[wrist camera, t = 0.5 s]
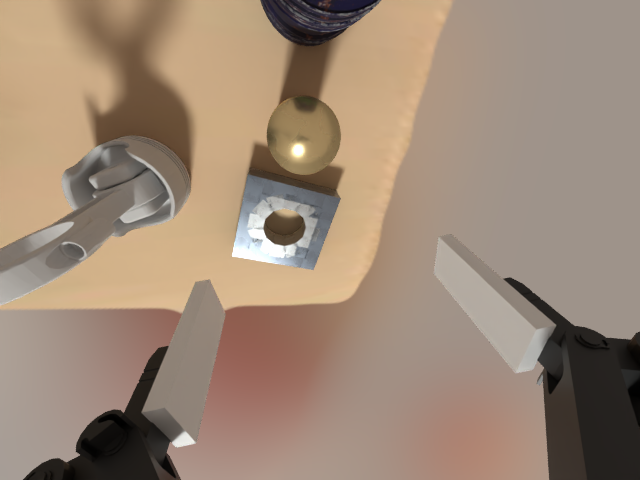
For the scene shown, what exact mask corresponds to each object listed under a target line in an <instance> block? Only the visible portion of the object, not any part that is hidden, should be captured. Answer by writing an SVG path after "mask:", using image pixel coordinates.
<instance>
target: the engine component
mask: <svg viewBox="0 0 640 480" xmlns="http://www.w3.org/2000/svg"><path fill="white" fill-rule="evenodd" d="M62 188H63V192H64V195H65V197H66V199H67V201H68V203H69V204H70V206H71V207H72V209H73V210H74V211H73V212H71V213H70V214H68V215H67V216H65V217H63V218H62V219H60V220H58V221H57V222H55V223H53V224H52V225H50V226H48V227H45V228H43V229H41V230H38V231H36V232H34V233H32V234H30V235H27V236H25V237H23V238H21V239H19V240H17V241H15V242H12V243H11V244H9V245H7V246H5V247H3V248H1V249H0V305H3V304H6V303H9V302H11V301H13V300H16V299H18V298H21V297H23V296H25V295H27V294H29V293H31V292H33V291H35V290H37V289H39V288H41V287H43V286H44V285H46V284H48V283H50V282H52V281H53V280H55V279H57V278H59V277H60V276H62V275H63V274H65V273H67V272H68V271H70V270H71V269H73V268H74V267H76V266H77V265H79V264H80V263H81V262H83V261H84V260H86V259H87V258H88V257H89V256H91V255H92V254H93V253H94V252H95V251H96V250H98V249H99V248H100V247H101V246H102V244H103V243H104V242H105V241H106V240H107V239H108V238H109V237H111V236H115V237H120V236H124V235H125V234H126V233H127V232H129V231H131V230H133V229H137V228H141V227H147V226H153V225H158V224H162V223H164V222H167V221H169V220H171V219H172V218H174V217H175V216H176V215H177V214H178V212H179V211H180V209H181V208H182V207H183V205H184V204H185V203H186V201H187V199H188V197H189V195H190V190H191V181H190V176H189V173H188V170H187V169H186V167H185V165H184V163H183V162H182V160H181V159H180V158H179V157H178V156H177V155H176V153H175V152H173V151H172V150H171V149H170V148H168V147H167V146H165V145H164V144H162V143H160V142H158V141H156V140H154V139H151V138H147V137H144V136H135V135H132V136H124V137H119V138H117V139H114V140H111V141H108V142H106V143H103V144H101V145H99V146H97V147H95V148H94V149H93V150H91V151H90V152H89V153H88V154H87V155H86V156H85V157H84V158H83V159H82V160H81V161H79V162H78V163H77V164H76V165H75V166H73V167H71V168H69V169H67V170H66V171H65V172H64V173H63V175H62Z"/></svg>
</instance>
